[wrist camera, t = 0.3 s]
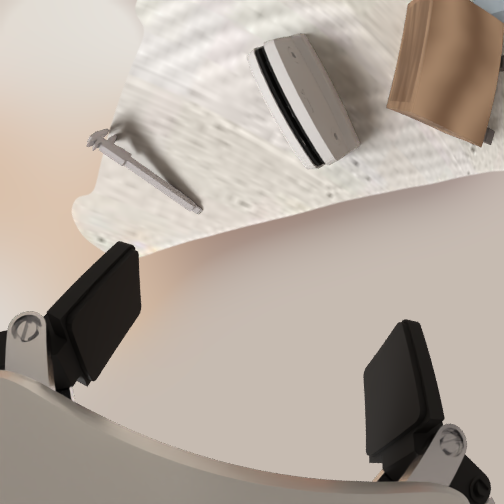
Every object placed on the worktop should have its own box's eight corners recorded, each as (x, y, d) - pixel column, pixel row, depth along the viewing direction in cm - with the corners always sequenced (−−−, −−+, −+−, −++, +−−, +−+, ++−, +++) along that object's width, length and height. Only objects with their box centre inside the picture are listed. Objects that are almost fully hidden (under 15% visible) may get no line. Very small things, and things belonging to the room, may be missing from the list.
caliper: (105, 133, 39) (80, 141, 34) (108, 127, 39) (83, 135, 34) (199, 213, 44) (183, 231, 38) (203, 208, 43) (188, 226, 38)
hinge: (361, 146, 34) (346, 174, 27) (329, 156, 37) (306, 185, 30) (303, 31, 28) (268, 24, 21) (272, 47, 31) (231, 47, 24)
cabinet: (386, 107, 31) (411, 112, 22) (407, 4, 22) (434, -19, 14) (473, 148, 30) (512, 167, 21) (495, 52, 21) (535, 49, 13)
